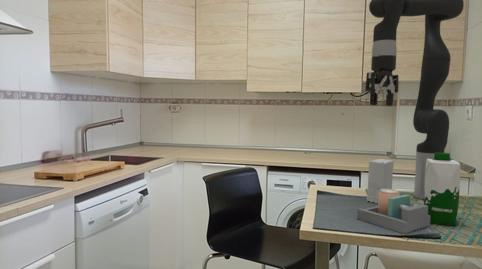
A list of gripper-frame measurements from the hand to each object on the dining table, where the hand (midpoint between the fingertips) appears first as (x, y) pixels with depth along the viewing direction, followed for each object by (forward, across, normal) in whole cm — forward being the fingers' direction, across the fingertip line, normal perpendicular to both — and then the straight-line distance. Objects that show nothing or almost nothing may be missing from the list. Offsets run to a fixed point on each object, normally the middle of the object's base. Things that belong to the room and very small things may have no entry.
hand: (381, 105), depth 118 cm
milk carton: (+34, -2, +20) cm, 40 cm away
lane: (+34, +11, +13) cm, 38 cm away
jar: (+34, +11, +11) cm, 37 cm away
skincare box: (+34, -7, -4) cm, 35 cm away
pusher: (+33, +11, +16) cm, 38 cm away
